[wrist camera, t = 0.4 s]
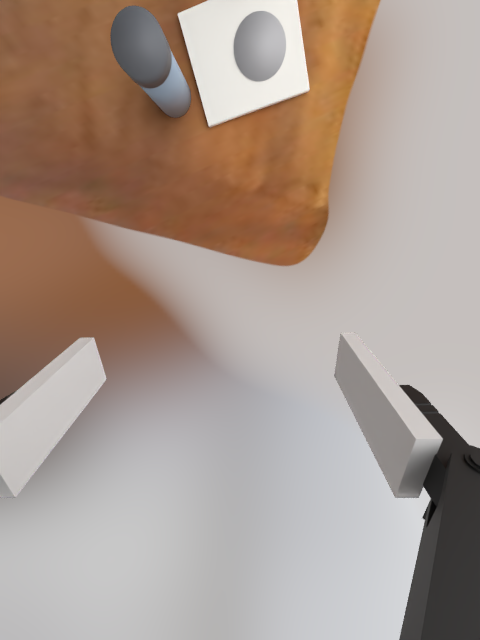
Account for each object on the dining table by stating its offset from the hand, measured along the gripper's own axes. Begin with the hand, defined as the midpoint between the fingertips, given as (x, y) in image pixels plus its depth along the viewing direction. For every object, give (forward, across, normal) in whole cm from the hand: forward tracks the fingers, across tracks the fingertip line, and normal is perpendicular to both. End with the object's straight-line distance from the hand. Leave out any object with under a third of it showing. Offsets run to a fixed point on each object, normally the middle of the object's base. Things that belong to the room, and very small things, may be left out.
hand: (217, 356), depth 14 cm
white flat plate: (+26, +2, +22) cm, 34 cm away
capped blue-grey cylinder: (+26, -6, +19) cm, 33 cm away
